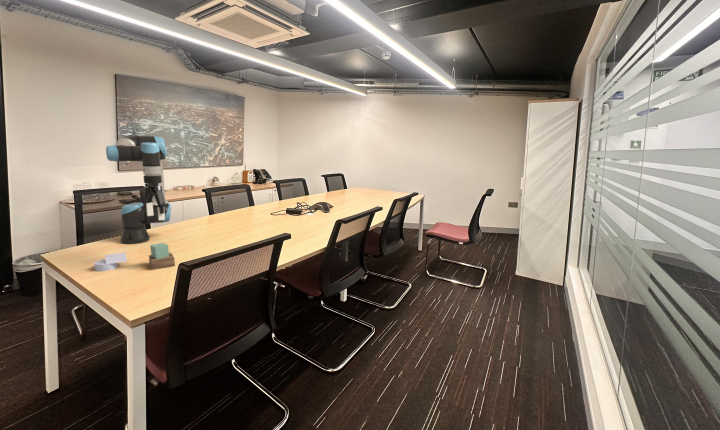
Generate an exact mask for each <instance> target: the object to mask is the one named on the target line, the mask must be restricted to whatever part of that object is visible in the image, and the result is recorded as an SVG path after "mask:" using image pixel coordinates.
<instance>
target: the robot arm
mask: <svg viewBox="0 0 720 430" xmlns="http://www.w3.org/2000/svg"><path fill="white" fill-rule="evenodd" d="M105 151H106V153H105V154H106V159H107V160H108V161H109V162H142V168H141V171H142V174H143V182H144V194H143V195H144V196H143V201H144V202H145V204H144V203H143V202H134V203H128V204H126V205H122V207H121V208H120V209H121V210H120V211H121V213H120V214H121V220H122V221H121V223H122V233H121V236H120V243H121V244H126V245H132V244H133V245H134V244H135V245H136V244H142V243H146V242H148V241H149V240H150V235H149V232H148V230H147V229H146V224H163V223H168V222H170V220H171V217H172V216H171V215H172V204H171V203H169V201H168V200H167V199H166V193H165V192H166V190H165V179H164V178H165V177H164V165H163V162H164V161H165V160H166V157H168V152H167V147H166V143H165V139H164V138H163V137H162V136H156V135H129V136H124V137H121V138H120V139H118V140H117V141H116V143H115V145H114V144H112V145H107V146H106V149H105Z"/></svg>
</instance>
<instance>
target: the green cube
mask: <svg viewBox="0 0 720 430" xmlns="http://www.w3.org/2000/svg"><path fill="white" fill-rule="evenodd" d="M149 247H150V253H151V254H150V255H151V257H153V258H155V259H160V258H164V257H169V253H170V252H169V251H170V250H169V245H168V243H167V244H166V243H165V242H161V243H155V244H150V246H149Z"/></svg>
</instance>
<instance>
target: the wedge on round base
mask: <svg viewBox="0 0 720 430" xmlns="http://www.w3.org/2000/svg"><path fill="white" fill-rule="evenodd" d="M127 261H128V259H127V253H126V252H117V253H112V254H105V255H104V259H103V258H102V259H99V260H96V261H95V262H94V265H93V266H94V271H95V272H107V271H113V270H115V269H117V268H118V264H119V263H126V262H127Z"/></svg>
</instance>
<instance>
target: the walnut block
mask: <svg viewBox="0 0 720 430" xmlns="http://www.w3.org/2000/svg"><path fill="white" fill-rule="evenodd" d="M148 261H149V265H150V268H151V270H152V271H155V270H161V269H166V268H172V267H173V266H174V267H175V266H176V264H175V256H174V255H173V254H172V252H169V257H164V258H160V259H155V258H153V257H151V254H149V255H148Z"/></svg>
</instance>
